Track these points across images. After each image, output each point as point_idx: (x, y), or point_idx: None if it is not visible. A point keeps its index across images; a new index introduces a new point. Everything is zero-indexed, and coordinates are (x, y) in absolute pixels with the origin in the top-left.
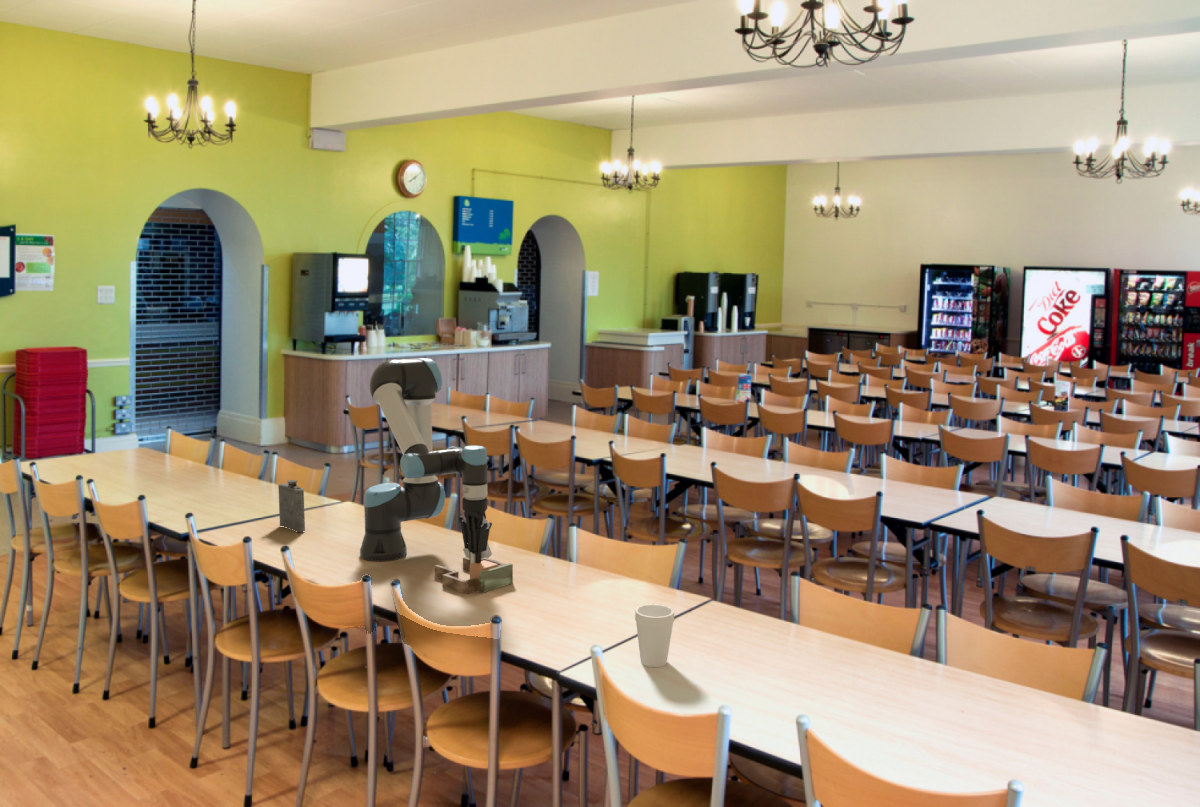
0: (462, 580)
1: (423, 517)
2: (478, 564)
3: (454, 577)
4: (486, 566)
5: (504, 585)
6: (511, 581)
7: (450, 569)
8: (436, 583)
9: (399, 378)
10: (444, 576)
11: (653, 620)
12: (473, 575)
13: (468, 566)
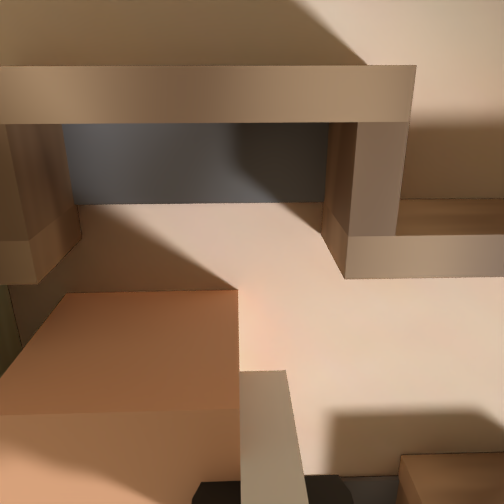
0: (37, 103)
1: None
2: (156, 469)
3: (209, 107)
4: (26, 485)
5: None
6: None
7: (475, 267)
8: (477, 77)
9: None
10: (368, 65)
11: None
12: (178, 335)
13: (491, 477)
